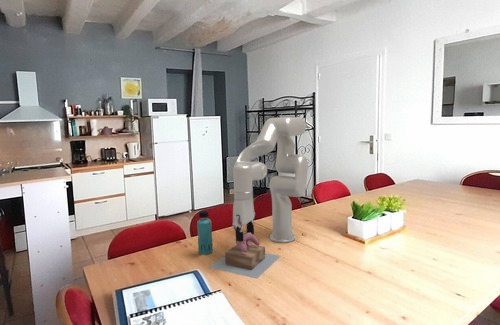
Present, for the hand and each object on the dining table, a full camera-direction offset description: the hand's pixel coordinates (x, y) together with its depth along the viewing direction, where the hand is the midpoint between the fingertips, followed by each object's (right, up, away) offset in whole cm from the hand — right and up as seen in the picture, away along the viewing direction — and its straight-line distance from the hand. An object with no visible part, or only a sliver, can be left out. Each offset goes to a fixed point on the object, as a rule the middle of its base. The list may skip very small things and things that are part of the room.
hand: (245, 237), depth 132 cm
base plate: (0, -12, +1) cm, 12 cm away
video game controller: (+1, -5, 0) cm, 5 cm away
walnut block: (0, -10, +1) cm, 10 cm away
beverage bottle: (-18, -11, +12) cm, 24 cm away
